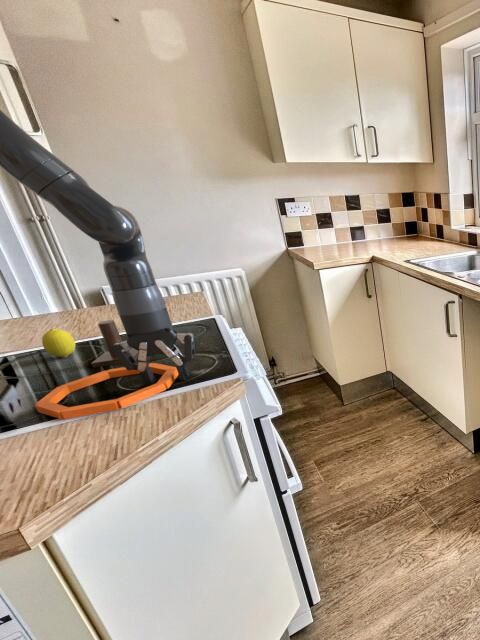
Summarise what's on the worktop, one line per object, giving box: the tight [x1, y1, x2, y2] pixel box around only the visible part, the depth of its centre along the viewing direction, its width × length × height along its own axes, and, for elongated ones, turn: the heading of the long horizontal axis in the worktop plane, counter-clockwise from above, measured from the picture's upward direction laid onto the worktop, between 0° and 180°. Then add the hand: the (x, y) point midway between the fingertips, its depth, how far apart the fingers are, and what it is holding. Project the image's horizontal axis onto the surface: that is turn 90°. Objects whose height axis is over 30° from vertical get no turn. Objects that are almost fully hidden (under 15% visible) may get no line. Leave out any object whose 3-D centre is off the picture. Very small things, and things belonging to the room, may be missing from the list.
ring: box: [34, 362, 179, 420], centre depth 88 cm, size 21×21×2 cm
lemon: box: [41, 328, 76, 359], centre depth 106 cm, size 6×6×8 cm
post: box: [90, 319, 139, 369], centre depth 104 cm, size 8×8×10 cm
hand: (168, 382), depth 92 cm, fingers open, 5 cm apart
